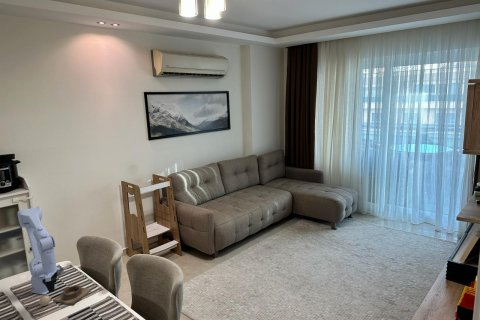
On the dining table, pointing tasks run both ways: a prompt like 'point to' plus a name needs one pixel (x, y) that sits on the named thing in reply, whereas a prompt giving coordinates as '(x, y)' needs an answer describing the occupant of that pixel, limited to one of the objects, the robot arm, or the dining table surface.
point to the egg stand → (72, 295)
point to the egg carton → (60, 270)
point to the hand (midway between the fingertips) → (52, 287)
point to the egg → (44, 300)
